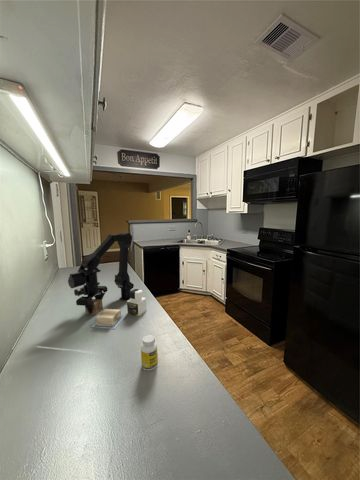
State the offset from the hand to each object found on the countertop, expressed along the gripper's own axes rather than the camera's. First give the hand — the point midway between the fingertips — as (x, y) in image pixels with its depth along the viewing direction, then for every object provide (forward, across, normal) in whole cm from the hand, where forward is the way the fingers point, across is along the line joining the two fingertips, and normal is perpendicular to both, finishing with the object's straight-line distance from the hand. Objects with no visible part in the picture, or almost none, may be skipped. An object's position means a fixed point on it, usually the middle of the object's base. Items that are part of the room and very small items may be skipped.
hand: (94, 310), depth 105 cm
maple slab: (0, +8, +13) cm, 15 cm away
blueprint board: (+1, +8, +13) cm, 15 cm away
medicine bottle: (+1, -3, +23) cm, 23 cm away
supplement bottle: (+1, +31, +41) cm, 51 cm away
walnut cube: (+1, 0, 0) cm, 1 cm away
